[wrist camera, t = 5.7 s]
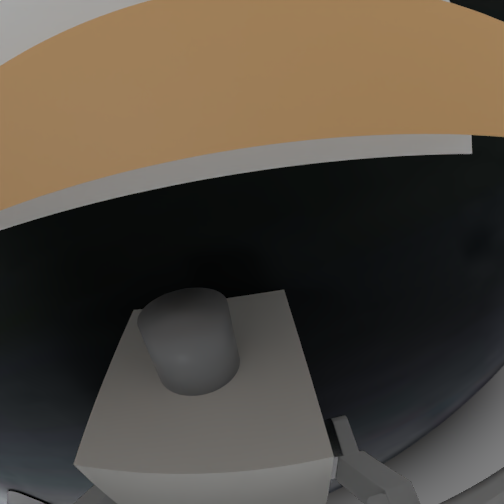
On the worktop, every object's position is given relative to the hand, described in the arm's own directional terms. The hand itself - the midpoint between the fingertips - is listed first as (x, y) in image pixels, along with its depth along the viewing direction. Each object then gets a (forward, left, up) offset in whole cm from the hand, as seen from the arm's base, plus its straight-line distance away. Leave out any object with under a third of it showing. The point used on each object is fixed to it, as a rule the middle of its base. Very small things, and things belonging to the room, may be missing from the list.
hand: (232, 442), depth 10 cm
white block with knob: (0, 0, -2) cm, 2 cm away
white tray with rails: (+15, +1, -2) cm, 15 cm away
